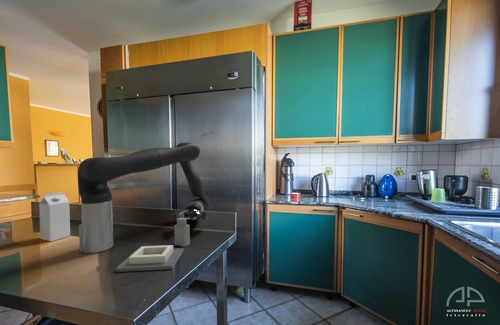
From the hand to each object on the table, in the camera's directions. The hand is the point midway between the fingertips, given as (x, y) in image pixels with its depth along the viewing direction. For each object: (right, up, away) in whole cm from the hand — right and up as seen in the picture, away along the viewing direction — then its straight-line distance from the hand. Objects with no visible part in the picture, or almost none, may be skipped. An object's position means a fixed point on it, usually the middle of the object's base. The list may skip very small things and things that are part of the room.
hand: (187, 219), depth 93 cm
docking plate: (-5, -7, -22) cm, 24 cm away
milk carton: (-56, -8, +1) cm, 57 cm away
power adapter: (+1, -7, -9) cm, 12 cm away
